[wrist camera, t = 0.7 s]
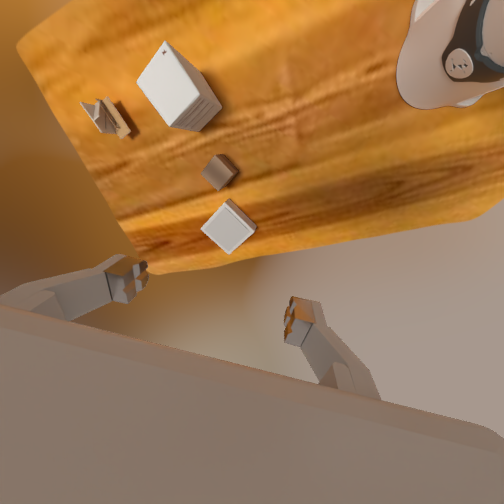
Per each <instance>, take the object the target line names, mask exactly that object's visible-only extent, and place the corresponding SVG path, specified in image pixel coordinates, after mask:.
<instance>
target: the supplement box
mask: <svg viewBox="0 0 504 504" xmlns="http://www.w3.org/2000/svg"><path fill="white" fill-rule="evenodd" d="M136 83H137V84H138V86H139V87H140V88H141V90H142V91H143V92H144V94H145V95H146V96H147V98H148V99H149V100H150V102H151V103H152V104H153V106H154V107H155V108H156V110H157V111H158V112H159V114H160V115H161V116H162V118H163V119H164V120H165V122H166V123H167V124H168V126H169V127H174V128H179V129H185V130H190V131H196V132H199V131H200V130H201V129H202V128H203V127H204V126H205V125H206V124H207V123H208V122H209V121H210V120H211V119H212V118H213V117H214V116H215V115H216V114H217V113H218V112H219V111H220V110H221V109H222V106H221V104H220V102H219V101H218V99H217V98H216V96H215V94H214V93H213V91H212V90H211V88H210V86H209V85H208V83H207V82H206V80H205V79H204V77H203V75H202V74H201V72H200V71H199V70H198V69H196V68H195V67H194V66H193V65H192V64H191V63H190V62H189V61H188V60H186V59H185V58H184V57H183V56H182V55H181V54H180V53H179V52H178V51H176V50H175V49H174V48H173V47H172V46H171V45H170V44H169V43H168V42H166V41H164V42H163V44H162V45H161V47H160V48H159V50H158V51H157V53H156V54H155V55H154V57H153V58H152V60H151V61H150V63H149V64H148V65H147V67H146V68H145V70H144V71H143V73H142V74H141V75H140V77H139V78H138V80H137V82H136Z"/></svg>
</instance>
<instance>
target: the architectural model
mask: <svg viewBox="0 0 504 504" xmlns="http://www.w3.org/2000/svg"><path fill="white" fill-rule="evenodd" d="M96 100H97V101H98V100H99V99H96ZM80 104H81V105H82V107H83V108H84V109H85V111H86V112H87V114H88V115H89V116H90V118H91V119H92V120H93V122H94V123H95V125H96V126H97V127H98V129H99V130H100V132H101V133H109V134H118V136H119V137H120V139H123V138H124V137H125V136H126V135H127V134H129V133H130V132H131V130H130V129H129V127H128V126H127V124H126V123H125V121H124V120H123V118H122V117H121V115H120V113H119V112H118V111H117V109H116V108H115V106H114V103H112V102H111V100H110V99H109V97H106V98H105V99H104V100H99V101H98V102H97V103H96V104H95V105H91V104H87V103H82V102H80Z"/></svg>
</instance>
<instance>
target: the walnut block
mask: <svg viewBox="0 0 504 504" xmlns="http://www.w3.org/2000/svg"><path fill="white" fill-rule="evenodd" d="M238 172H239V170H238V169H237V168H236V167H235V166H234V165H233V164H232V163H231V162H230V161H229V160H228V159H227V158H226V157H225V156H224V155H223V154H219V155H214V157H213V158H212V159H211V161H210V162H209V163H208V165H207V166H206V167H205V168H204V170H203V171H202V172H201V175H202V176H203V177H204V178H205V179H206V180H207V181H208V182H209V183H210V184H211V185H212V186H213V187H214V188H215V189H216V190H217V191H219V190H221V189H222V188H224V187H226V185H227V184H228V183H229V182H230V181H231V180H232V178H233V177H234V176H235V175H236V174H237V173H238Z"/></svg>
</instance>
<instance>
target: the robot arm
mask: <svg viewBox="0 0 504 504" xmlns="http://www.w3.org/2000/svg"><path fill="white" fill-rule="evenodd" d="M396 78H397V86H398V89H399V92H400V94H401V96H402V98H403V99H404V100H405V101H406V102H407V103H408V104H409V105H411V106H413V107H415V108H419V109H435V108H439V107H443V106H454V107H459V108H464V107H468V106H470V105H473V104H474V103H475V102H477V101H478V100H479V99H480V98H481V97H482V96H483V95H484V94H486V93H489V92H491V91H494V90H497V89H499V88H502V87H504V0H416V1H415V2H414V5H413V8H412V13H411V20H410V29H409V32H408V35H407V37H406V39H405V42H404V44H403V47H402V49H401V52H400V55H399V59H398V64H397V72H396ZM147 268H148V265H147V262H146V261H145V260H141V259H137V258H134V257H130V256H126V255H122V254H116V255H114V256H113V257H111V258H109V259H108V260H106V261H104V262H103V263H101V264H100V265H98V266H96V267H95V268H93V269H85V270H81V271H77V272H72V273H68V274H63V275H60V276H55V277H51V278H46V279H42V280H38V281H33V282H30V283H25V284H23V285H21V286H19V287H17V288H15V289H13V290H11V291H9V292H7V293H5V294H3V295H1V296H0V504H504V438H502V437H501V436H500V435H498V434H497V433H496V432H494V431H492V430H491V429H489V428H486V427H484V426H481V425H478V424H474V423H471V422H467V421H462V420H458V419H454V418H450V417H446V416H442V415H438V414H434V413H430V412H426V411H422V410H418V409H414V408H410V407H406V406H402V405H398V404H394V403H390V402H386V401H382V400H381V398H380V395H379V393H378V390H377V388H376V385H375V383H374V380H373V378H372V376H371V373H370V371H369V369H368V368H367V367H366V366H365V365H364V364H363V363H362V362H361V361H360V359H359V358H358V357H357V356H356V355H355V354H354V353H353V352H352V351H351V350H350V349H349V347H348V346H347V345H346V344H345V343H344V342H343V341H342V340H341V339H340V338H339V337H338V336H337V334H336V333H335V332H334V331H333V330H332V329H331V328H330V327H327V324H326V321H325V317H324V314H323V310H322V307H321V303H320V302H317V301H312V300H306V299H302V298H298V297H294V296H292V297H291V298H290V301H289V306H288V307H287V309H286V311H285V315H284V325H285V327H286V328H285V330H284V342H285V343H287V344H291V345H294V346H298V347H301V350H302V352H303V354H304V355H305V357H306V359H307V361H308V362H309V364H310V366H311V368H312V369H313V371H314V373H315V374H316V376H317V378H318V380H319V384H315V383H311V382H307V381H303V380H299V379H295V378H291V377H287V376H283V375H280V374H276V373H272V372H267V371H263V370H260V369H256V368H252V367H248V366H244V365H240V364H236V363H232V362H228V361H224V360H220V359H216V358H212V357H208V356H204V355H200V354H196V353H192V352H188V351H184V350H180V349H176V348H172V347H168V346H164V345H161V344H157V343H153V342H148V341H145V340H141V339H137V338H133V337H129V336H125V335H121V334H117V333H113V332H109V331H105V330H101V329H97V328H93V327H89V326H85V325H81V324H77V323H73V322H69V321H71V320H73V319H75V318H77V317H79V316H81V315H83V314H85V313H88V312H90V311H92V310H94V309H96V308H99V307H101V306H103V305H105V304H107V303H109V302H111V301H117V302H122V303H126V304H128V303H129V302H130V301H131V300H132V299H133V298H134V297H135V296H136V295H137V291H140V290H142V289H143V288H144V287H145V286H146V284H147V282H148V279H149V274H148V272H147V271H146V269H147Z"/></svg>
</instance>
